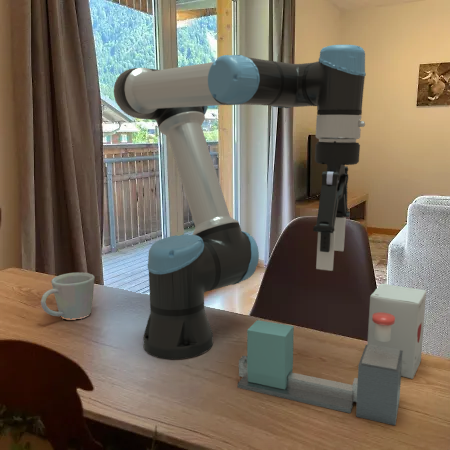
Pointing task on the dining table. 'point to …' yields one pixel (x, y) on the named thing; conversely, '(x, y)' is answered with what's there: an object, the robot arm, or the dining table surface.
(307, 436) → the dining table surface
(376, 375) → the grey button housing
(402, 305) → the supplement box
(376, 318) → the plunger
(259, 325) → the carriage
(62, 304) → the mug
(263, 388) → the rail
